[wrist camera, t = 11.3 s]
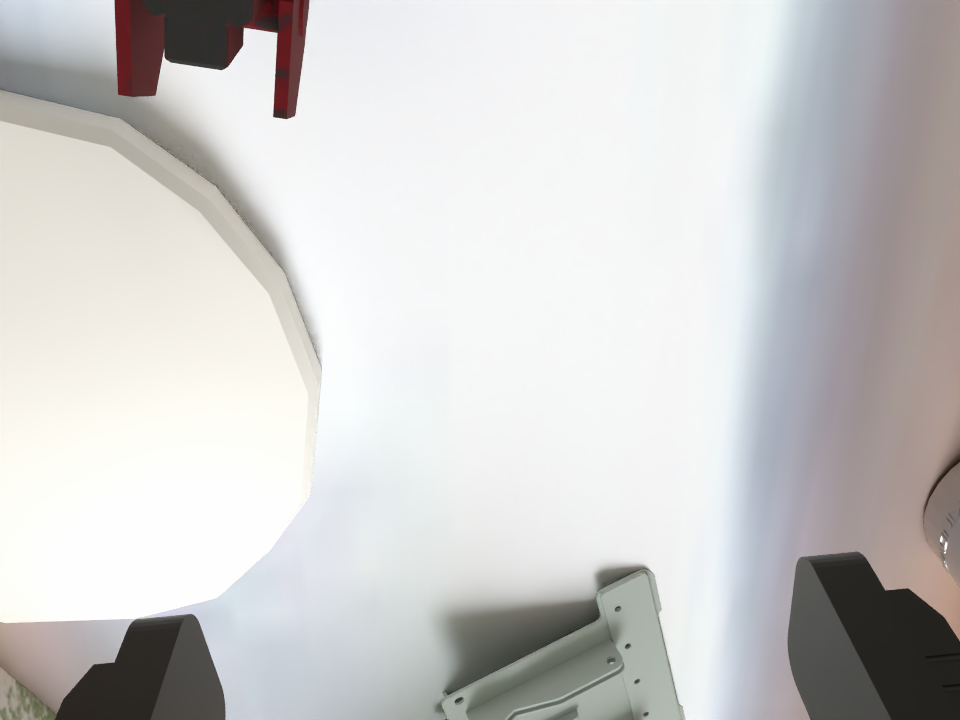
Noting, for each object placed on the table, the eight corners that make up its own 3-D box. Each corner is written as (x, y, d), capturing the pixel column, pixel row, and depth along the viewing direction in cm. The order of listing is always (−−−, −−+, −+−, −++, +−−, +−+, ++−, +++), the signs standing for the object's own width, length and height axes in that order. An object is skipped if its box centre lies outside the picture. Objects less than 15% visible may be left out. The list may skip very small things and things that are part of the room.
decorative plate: (-544, 141, 28) (266, 103, 29) (-437, 103, 31) (281, 71, 32) (-200, 678, 41) (347, 637, 42) (-152, 609, 44) (352, 573, 45)
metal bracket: (501, 875, 50) (423, 713, 42) (467, 789, 55) (391, 629, 47) (721, 755, 52) (686, 581, 45) (669, 683, 57) (629, 514, 50)
